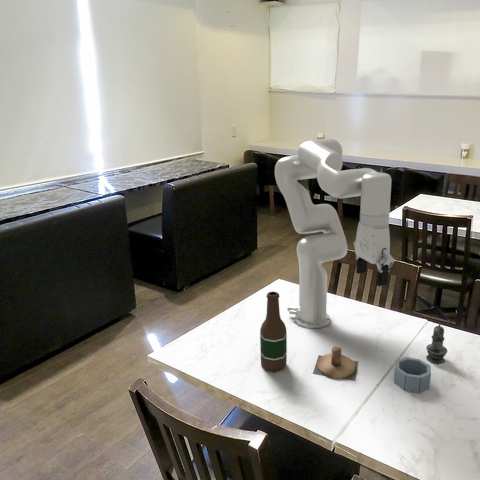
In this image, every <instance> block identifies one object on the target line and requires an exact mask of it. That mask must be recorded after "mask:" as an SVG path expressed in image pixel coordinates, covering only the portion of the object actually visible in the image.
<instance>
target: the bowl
mask: <svg viewBox="0 0 480 480" xmlns="http://www.w3.org/2000/svg"><path fill="white" fill-rule="evenodd" d="M394 364H395V365H394V374H393V375H394V376H393V383H394V384H395V385H396V386H398V387H399V388H400V389H401V390H403V391H406V392H409V393H414V394H418V395H419V394H422V393H424V392H427V391H429V390H430V387H431V378H432V369H431V365H430V364H429V363H427V362H425V361H424V360H422V359H420V358H414V357H409V356H408V357H407V356H406V357H402V358H399V359H397V360H395V362H394Z"/></svg>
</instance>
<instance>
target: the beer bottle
mask: <svg viewBox="0 0 480 480" xmlns="http://www.w3.org/2000/svg"><path fill="white" fill-rule="evenodd" d="M280 297H281V296H280V293H279V292H277V291H268V292H267V294H266V298H267V301H266V314H265V315H266V316H265V318H264V319H265V320H264V321H263V322H262V324H261V326H260V329H259V330H260V331H259V332H260V333H259V338H260V339H259V341H260V347H259V348H260V366H261V367H262V368H263V370H264V371H266V372H271V373H278V372H281V371H284V369H285V367H286V366H287V360H288V359H287V358H288V357H287V355H288V354H287V353H288V352H287V351H288V350H287V349H288V347H287V346H288V345H287V342H288V339H287V335H288V333H287V327H286V324H285V322H284V321H283V320H282V318H281V313H280V311H281V310H280V300H279V298H280Z"/></svg>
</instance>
